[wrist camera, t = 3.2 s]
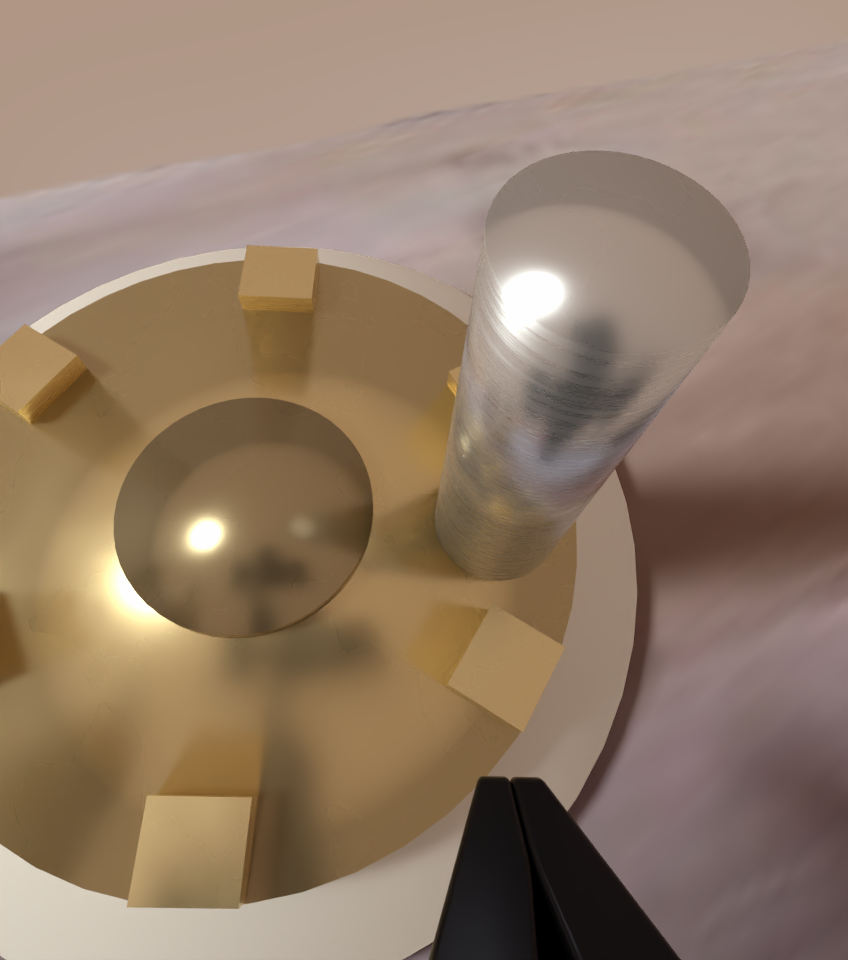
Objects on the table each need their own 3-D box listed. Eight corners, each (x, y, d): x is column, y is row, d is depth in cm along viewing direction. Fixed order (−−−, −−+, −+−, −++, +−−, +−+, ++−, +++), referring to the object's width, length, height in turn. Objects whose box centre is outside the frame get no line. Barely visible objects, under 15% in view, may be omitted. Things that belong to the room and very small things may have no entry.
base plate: (784, 694, 16) (804, 690, 15) (-35, 1254, 11) (-66, 1291, 10) (412, 188, 23) (413, 168, 22) (-194, 404, 18) (-221, 388, 17)
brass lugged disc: (690, 656, 15) (1157, 498, 6) (23, 1080, 11) (-1544, 2450, 2) (389, 223, 21) (387, -214, 11) (-131, 414, 17) (-773, -8, 8)
